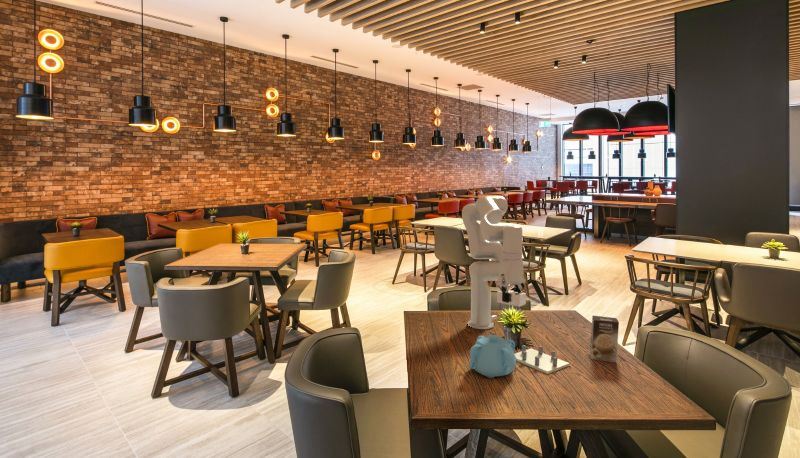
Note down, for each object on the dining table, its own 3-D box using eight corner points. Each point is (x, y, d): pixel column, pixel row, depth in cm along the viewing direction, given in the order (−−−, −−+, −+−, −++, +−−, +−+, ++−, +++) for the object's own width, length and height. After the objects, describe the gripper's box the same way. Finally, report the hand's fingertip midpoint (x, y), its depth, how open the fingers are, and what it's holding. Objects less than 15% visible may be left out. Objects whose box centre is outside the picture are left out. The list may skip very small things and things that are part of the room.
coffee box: (591, 359, 170) (592, 319, 168) (589, 353, 176) (591, 315, 174) (617, 362, 167) (619, 322, 165) (614, 356, 173) (616, 317, 171)
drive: (503, 300, 180) (503, 289, 179) (525, 304, 173) (525, 293, 172) (497, 302, 176) (497, 291, 176) (519, 306, 169) (519, 295, 169)
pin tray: (531, 350, 179) (531, 341, 179) (569, 365, 164) (569, 355, 164) (509, 357, 172) (509, 348, 171) (547, 374, 157) (547, 363, 157)
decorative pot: (508, 385, 149) (509, 347, 147) (464, 375, 156) (464, 339, 155) (519, 367, 163) (520, 332, 161) (478, 359, 170) (479, 326, 169)
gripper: (519, 253, 180) (519, 296, 182) (489, 257, 171) (489, 301, 173) (534, 255, 174) (533, 299, 176) (503, 259, 165) (502, 306, 167)
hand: (511, 300), depth 174 cm, fingers closed on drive, 5 cm apart
